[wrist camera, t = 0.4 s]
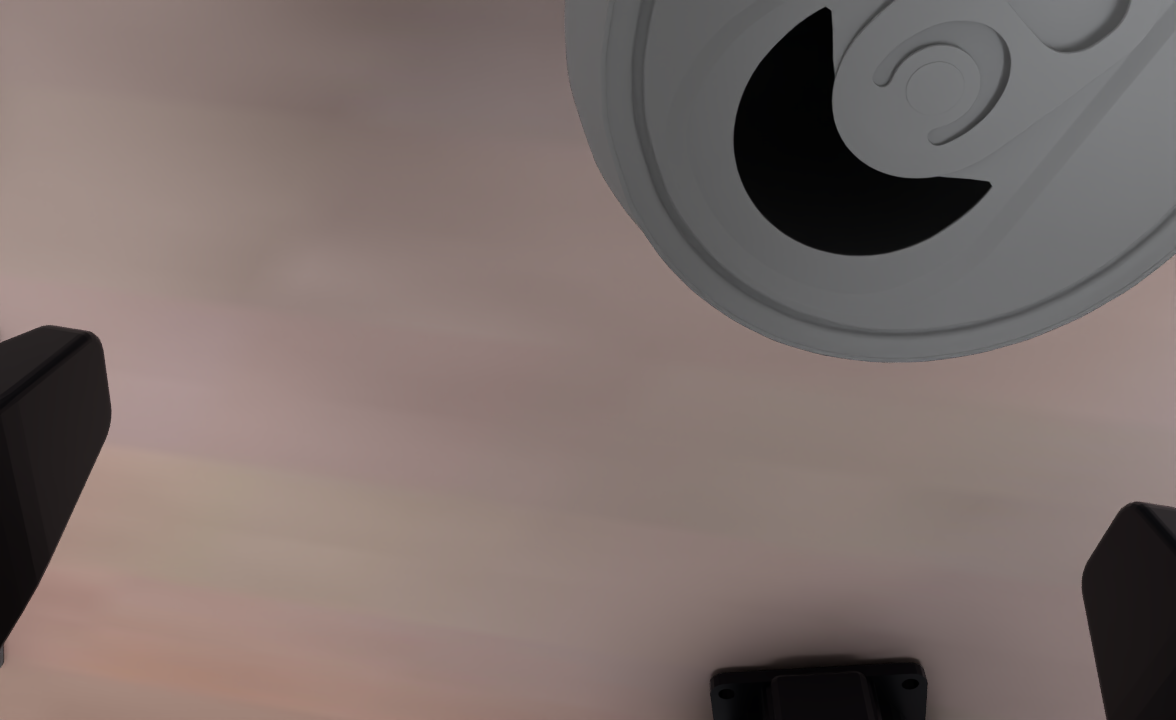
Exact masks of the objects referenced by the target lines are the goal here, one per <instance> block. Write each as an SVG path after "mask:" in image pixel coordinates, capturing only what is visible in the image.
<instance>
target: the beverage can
mask: <svg viewBox="0 0 1176 720" xmlns="http://www.w3.org/2000/svg"><path fill="white" fill-rule="evenodd" d="M564 12H565V43H566V59H567V70H568V76H569V81H570V86H571V90H572V94H573V97H574V101H575V104H576V107H577V111H578V114H579V117H580V120H581V123H582V126H583V129H584V132H585V135H586V138H587V141H588V144H589V146H590V149H591V152H592V154H593V157H594V160H595V162H596V164H597V166H598V168H599V170H600V172H601V174H602V176H603V178H604V179H605V181H606V183H607V184H608V186H609V187H610V189H611V190H612V192H613V194H614V195H615V197H616V198H617V199H618V201H619V202H620V204H621V205H622V207H623V208H624V209H625V211H626V212H627V214H628V215H629V216H630V217H631V219H632V220H633V221H634V222H635V223H636V225H637V226H638V227H639V228H640V229H641V230H642V231H643V232H644V234H645V236H646V237H647V239H648V240H649V242H650V243H651V244H652V246H653V247H654V249H655V250H656V252H657V253H658V254H659V256H660V257H661V258H662V259H663V261H664V262H665V263H666V264H667V265H668V266H669V268H670V269H671V270H672V271H673V272H674V273H675V274H676V275H677V276H678V277H679V278H680V279H681V280H682V281H683V282H684V283H685V284H686V285H687V286H688V287H689V288H690V289H691V290H693V291H694V292H695V293H696V294H697V295H698V296H700V297H701V298H702V299H704V300H705V301H706V302H708V303H709V304H710V305H712V306H713V307H714V308H716V309H717V310H719V311H720V312H722V313H723V314H725V315H726V316H728V317H729V318H731V319H732V320H734V321H736V322H738V323H739V324H741V325H743V326H745V327H747V328H749V329H751V330H753V331H755V332H757V333H759V334H761V335H763V336H765V337H768V338H770V339H772V340H774V341H777V342H780V343H783V344H786V345H789V346H792V347H795V348H799V349H802V350H805V351H809V352H813V353H817V354H821V355H825V356H831V357H837V358H844V359H851V360H859V361H868V362H923V361H933V360H941V359H949V358H956V357H962V356H968V355H974V354H978V353H983V352H987V351H991V350H995V349H998V348H1002V347H1005V346H1009V345H1012V344H1016V343H1019V342H1022V341H1025V340H1029V339H1031V338H1034V337H1036V336H1039V335H1042V334H1044V333H1046V332H1049V331H1051V330H1053V329H1056V328H1058V327H1060V326H1063V325H1065V324H1067V323H1070V322H1072V321H1074V320H1076V319H1078V318H1081V317H1082V316H1084V315H1086V314H1088V313H1090V312H1092V311H1094V310H1095V309H1097V308H1099V307H1100V306H1102V305H1104V304H1106V303H1107V302H1109V301H1111V300H1112V299H1114V298H1116V297H1118V296H1119V295H1121V294H1123V293H1124V292H1126V291H1127V290H1129V289H1130V288H1132V287H1133V286H1135V285H1136V284H1138V283H1139V282H1140V281H1142V280H1143V279H1144V278H1146V277H1147V276H1148V275H1150V274H1151V273H1152V272H1154V271H1155V270H1156V269H1158V268H1159V267H1160V266H1161V265H1162V264H1164V263H1165V262H1166V261H1167V260H1169V259H1170V258H1171V257H1172V256H1174V255H1175V254H1176V0H565V11H564Z"/></svg>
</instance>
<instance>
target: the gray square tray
mask: <svg viewBox="0 0 1176 720" xmlns="http://www.w3.org/2000/svg"><path fill="white" fill-rule="evenodd" d="M2 665H3V646H2V647H1V649H0V668H1V666H2Z"/></svg>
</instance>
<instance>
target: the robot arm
mask: <svg viewBox="0 0 1176 720" xmlns="http://www.w3.org/2000/svg"><path fill="white" fill-rule="evenodd" d="M110 423H111V402H110V394H109V387H108V380H107V373H106V365H105V358H104V351H103V347H102V343H101V341H100V339H99V338H98V337H97V336H96V335H95V334H94V333H92V332H90V331H85V330H79V329H73V328H66V327H60V326H53V325H46V326H41V327H38V328H36V329H33V330H31V331H28V332H26V333H23V334H21V335H18V336H16V337H13V338H11V339H8V340H6V341H3V342H1V343H0V649H1V647H2V646H3V644H4V642H5V641H6V639H7V638H8V636H9V634H10V633H11V631H12V629H13V628H14V626H15V624H16V623H17V621H18V619H19V618H20V616H21V614H22V613H23V611H24V609H25V608H26V606H27V604H28V602H29V601H30V599H31V597H32V595H33V594H34V592H35V590H36V588H37V587H38V585H39V583H40V581H41V579H42V577H43V575H44V573H45V571H46V569H47V567H48V564H49V562H50V560H51V558H52V556H53V554H54V552H55V549H56V547H57V545H58V543H59V541H60V538H61V536H62V534H63V532H64V530H65V527H66V525H67V523H68V521H69V519H70V516H71V514H72V512H73V510H74V508H75V505H76V503H77V501H78V499H79V497H80V494H81V492H82V490H83V488H84V486H85V484H86V481H87V479H88V477H89V475H90V473H91V470H92V468H93V466H94V464H95V462H96V459H97V457H98V455H99V453H100V451H101V448H102V446H103V444H104V442H105V440H106V437H107V435H108V431H109V428H110ZM1082 595H1083V600H1084V605H1085V610H1086V615H1087V621H1088V626H1089V631H1090V636H1091V641H1092V646H1093V652H1094V657H1095V662H1096V667H1097V672H1098V677H1099V683H1100V688H1101V693H1102V698H1103V703H1104V709H1105V714H1106V719H1107V720H1176V508H1174V507H1169V506H1163V505H1157V504H1151V503H1144V502H1132V503H1129V504H1127V505H1126V506H1124V507H1123V508H1121V510H1120V511H1119V512H1118V514H1117V515H1116V517H1115V518H1114V520H1113V522H1112V523H1111V525H1110V526H1109V528H1108V530H1107V531H1106V533H1105V534H1104V536H1103V538H1102V539H1101V541H1100V542H1099V544H1098V545H1097V547H1096V549H1095V550H1094V552H1093V553H1092V555H1091V557H1090V558H1089V560H1088V561H1087V563H1086V566H1085V569H1084V572H1083V576H1082ZM927 684H928V683H927V679H926V676H925V672H924V668H923V667H922V666H920V665H918V664H916V663H893V664H876V665H858V666H840V667H822V668H804V669H787V670H769V671H751V672H733V673H722V674H718V675H716V676H714V677H713V678H712V679H711V680H710V696H711V703H712V711H713V718H714V720H925V715H926V700H927Z"/></svg>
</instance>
